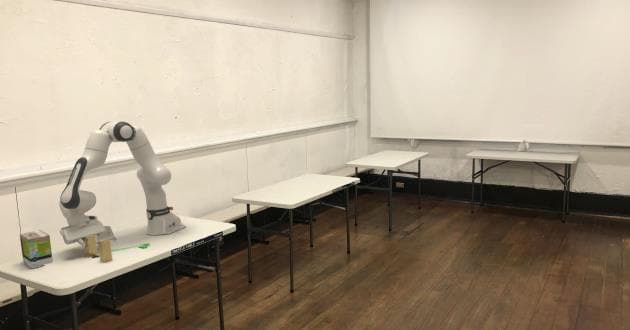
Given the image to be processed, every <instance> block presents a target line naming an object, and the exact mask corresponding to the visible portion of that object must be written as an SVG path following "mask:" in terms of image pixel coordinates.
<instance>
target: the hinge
mask: <svg viewBox="0 0 630 330" xmlns="http://www.w3.org/2000/svg"><path fill="white" fill-rule="evenodd" d="M103 226H104V227H105V229H106V230H105V233H104V234H103V235H101V236H97V242H98V241H100V240H103V239H108V240H110V241H111V240H112V241H116V240H117V238H116V236H115V234H114V232H113V229H112V228H111V226H109V225H103ZM82 242H84V240H83V241H82Z"/></svg>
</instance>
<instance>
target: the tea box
mask: <svg viewBox="0 0 630 330" xmlns="http://www.w3.org/2000/svg"><path fill="white" fill-rule="evenodd" d="M19 241H20V247H21V248H20V249H21V256H22V261H23V263H24V264H25V265H27V267H29V268H30V269H37V268H40V267H45V266H46V264H50V263H53V262H54V261H53V260H54V259H53V254H52V253H53V252H52V243H51V237H50V235H49V233H47V232H45V231H43V230H41V229H39V230H34V231H28V232H24V233H23V232H22V233H20V234H19Z"/></svg>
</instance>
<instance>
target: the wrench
mask: <svg viewBox="0 0 630 330" xmlns="http://www.w3.org/2000/svg"><path fill="white" fill-rule="evenodd" d="M148 247H150V243H141V244H140V245H133V246H129V247H127V246H126V247H121V248H117V249H116V248H115V249H111V253H112V252H118V251H123V250H127V249H133V248H139V249H146V248H148Z"/></svg>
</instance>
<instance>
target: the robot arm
mask: <svg viewBox="0 0 630 330" xmlns="http://www.w3.org/2000/svg"><path fill="white" fill-rule="evenodd" d="M112 143H126V145H127V147H128V148H129V151H130V152H131V154H132V156H133V159H134V161H135V163H137V164H138V165H139V167H138V169H137V171H136V177H137V179H138V180H139V181H140V184H141V187H142V189H143V192H144V196H145V201H146V202H145V203H146V218H147V226H146V227H147V228H146V234H147V235H149V236H160V235H170V234H172V233H176V232H177V231H181V230H183V229H185V228H186V227H187V226H186V224H184V223H182V220H181V218H180V217H179V216H178V215H177V214H176V213H175V214H174V213H173V212H171V211H173V210H174V206H168V203H167V194H166V191H165V190H164V188H163V187H162V186H165V185H168V184H169V183H170V181H171V178H172V172H171V171H170V169H168V168H167V166H165V165H164V163H163V162H162V160H161V159H160V158H159V157H158V155H157V153H155V151H154V148H153V147H152V145H151V143H150V140H149V138H148V137H147V135H146V133H145V132H144V130H143V129H142V127H140V126H139V125H135V124H134V125H131V124H130V123H129V122H127V121H121V120H114V121H107V122H105V123H103V124H102V125H101V126H100V128H99V129H94V130H92V131H91V132H90V133H89V136H88V138H87V140H86V143H85V147H84V151H83V153H82V155H81V156H80V158H78V159H77V160H76V162H75V164H74V166H73V168H72V171H71V173H70V175H69V179H68V180H67V182H66V186H65V188H64V189H63V191H62V192H61V195H60V197H59V199H60V200H59V203H58V204H59V208H60V209H59V210H60V212H61V213H62V215H63V218H65V219H66V222H67V225H68V226H65V227H61V228H60V229H59V233H60V235H61V237H62V239H63V241H64V243H65V244H66V245H67V246H68V245H71V244H75V243H78V244H79V245H80V246H82V248H84V249H85V247H87V244H86V243H84V242H83V240H84V237H85V236H88V235H94V236H95V239H96V245H98V242H97V236H101V235H103V234H104V233H105V230H106V229H105V227H104V226H105V225H104V224H103V223H102V221H100V220H99V219H98V216H96V215H87V214H86V215H85V213H87V212H89V211H90V210H92V209H93V208H94V207H95V206H96V203H97V197H96V194H95V193H93V192H91V191H87V190H81V189H80V188H81V185H82V182H83V180H84V177H85V175H86V173H87V172H88V171H91V170H94V169H97V168H99V167H102V166H103V165H104V164H105V163H106V160H107V157H108V153H109V147H110V146H111V144H112Z"/></svg>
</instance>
